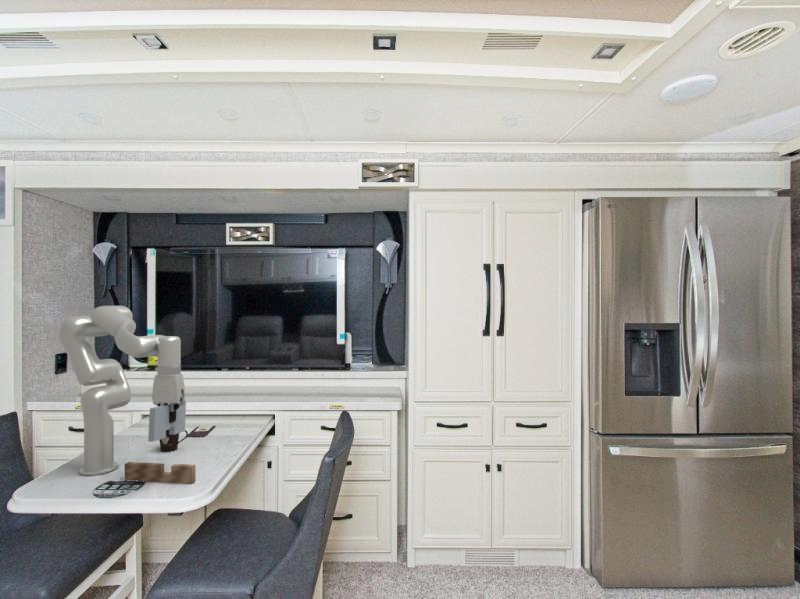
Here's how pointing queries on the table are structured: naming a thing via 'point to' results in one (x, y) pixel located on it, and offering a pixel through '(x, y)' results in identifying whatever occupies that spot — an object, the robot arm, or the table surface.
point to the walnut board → (160, 473)
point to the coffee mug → (170, 442)
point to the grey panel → (165, 422)
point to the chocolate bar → (201, 431)
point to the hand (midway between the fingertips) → (169, 421)
